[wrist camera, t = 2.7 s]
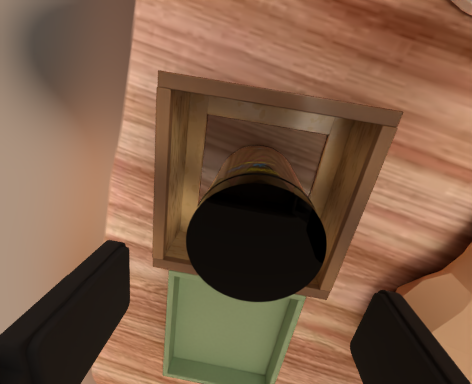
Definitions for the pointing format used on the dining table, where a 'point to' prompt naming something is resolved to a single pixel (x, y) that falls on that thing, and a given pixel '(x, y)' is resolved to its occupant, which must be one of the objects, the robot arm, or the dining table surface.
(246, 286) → the supplement container
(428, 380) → the robot arm
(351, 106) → the brown wooden square frame
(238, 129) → the dining table surface
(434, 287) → the squash
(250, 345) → the tray
